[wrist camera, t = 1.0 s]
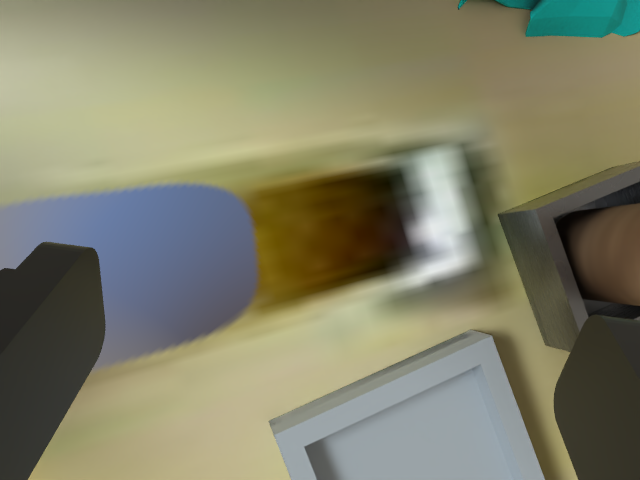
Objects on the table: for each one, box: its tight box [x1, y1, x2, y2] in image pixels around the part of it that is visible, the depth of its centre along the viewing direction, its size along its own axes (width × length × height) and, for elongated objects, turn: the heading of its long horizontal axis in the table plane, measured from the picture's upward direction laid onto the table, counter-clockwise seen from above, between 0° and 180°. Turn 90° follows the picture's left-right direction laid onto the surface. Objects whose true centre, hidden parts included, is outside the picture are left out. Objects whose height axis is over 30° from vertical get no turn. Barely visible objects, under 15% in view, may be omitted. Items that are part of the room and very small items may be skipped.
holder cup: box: [498, 161, 640, 352], centre depth 33 cm, size 9×9×4 cm
